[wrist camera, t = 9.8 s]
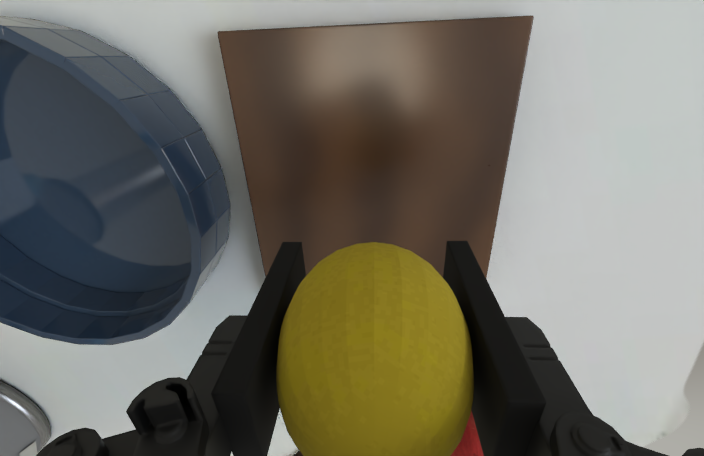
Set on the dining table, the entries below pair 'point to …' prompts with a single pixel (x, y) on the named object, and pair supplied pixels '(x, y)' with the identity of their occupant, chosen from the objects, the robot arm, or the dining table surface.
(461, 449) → the onion
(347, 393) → the lemon
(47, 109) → the bowl
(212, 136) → the dining table surface
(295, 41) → the board
